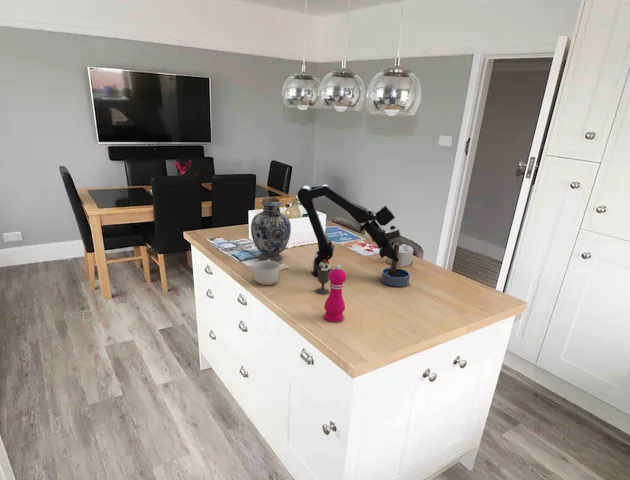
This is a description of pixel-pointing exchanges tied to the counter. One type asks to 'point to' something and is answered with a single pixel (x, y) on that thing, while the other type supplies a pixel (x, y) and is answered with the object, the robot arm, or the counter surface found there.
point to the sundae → (323, 275)
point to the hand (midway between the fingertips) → (397, 260)
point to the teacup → (266, 272)
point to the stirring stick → (393, 267)
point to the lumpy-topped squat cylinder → (403, 256)
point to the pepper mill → (335, 295)
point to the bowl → (395, 278)
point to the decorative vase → (270, 230)
